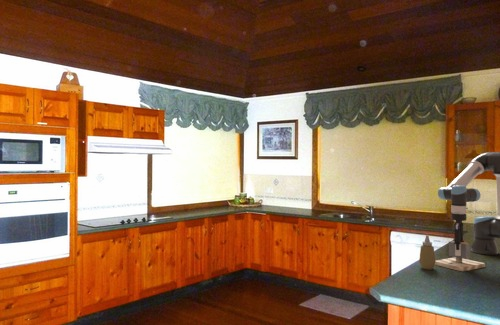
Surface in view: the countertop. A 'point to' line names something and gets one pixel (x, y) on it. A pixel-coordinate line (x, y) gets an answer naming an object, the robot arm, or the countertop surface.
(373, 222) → the countertop surface
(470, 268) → the base
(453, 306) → the countertop surface
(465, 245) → the grey block
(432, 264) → the squeeze bottle
